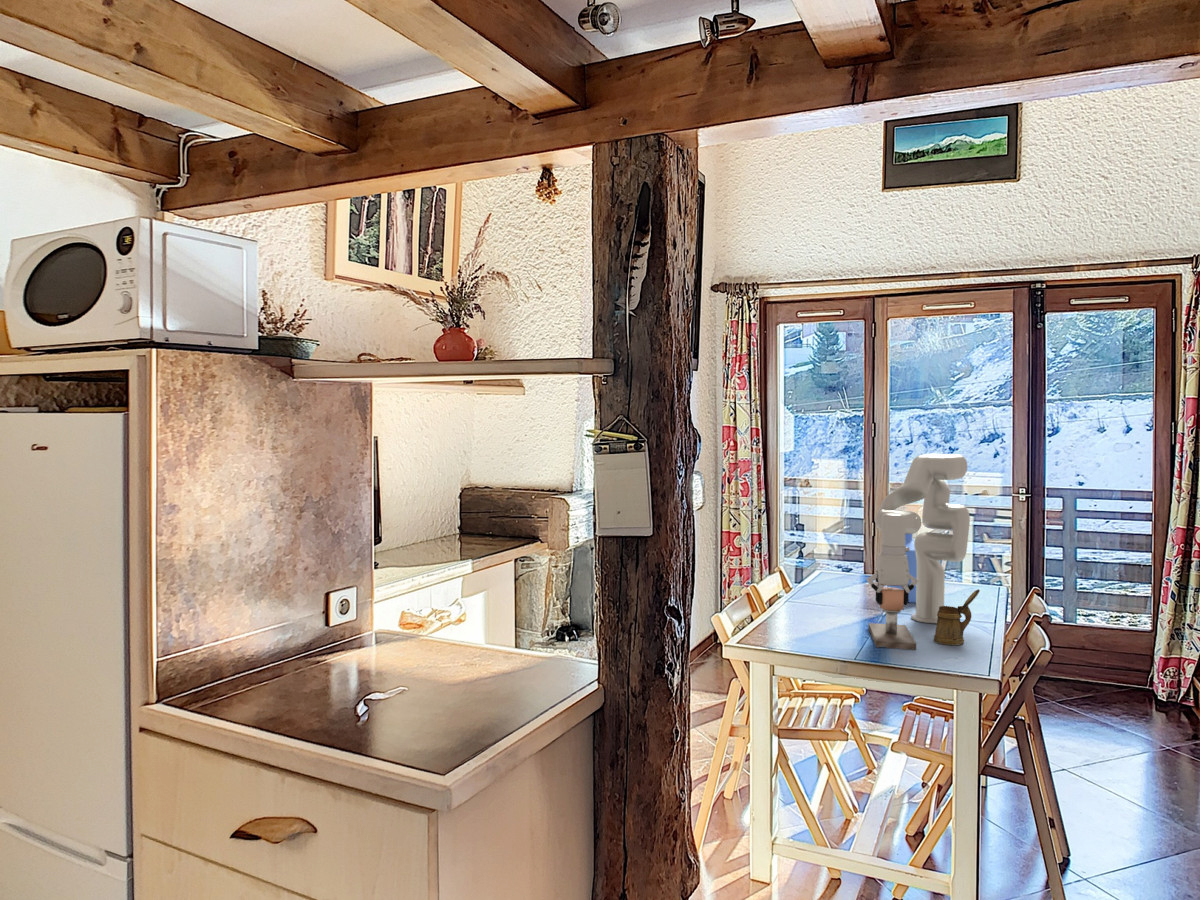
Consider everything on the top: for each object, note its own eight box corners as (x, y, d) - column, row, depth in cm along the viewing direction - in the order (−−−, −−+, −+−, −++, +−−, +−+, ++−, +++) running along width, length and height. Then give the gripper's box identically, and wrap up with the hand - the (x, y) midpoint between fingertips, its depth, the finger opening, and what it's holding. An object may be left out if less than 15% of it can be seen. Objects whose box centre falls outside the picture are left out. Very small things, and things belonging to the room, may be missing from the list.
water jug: (923, 595, 344) (924, 528, 343) (931, 604, 328) (932, 533, 327) (883, 594, 347) (884, 527, 346) (889, 602, 331) (891, 532, 330)
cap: (907, 610, 272) (907, 591, 272) (885, 610, 272) (885, 591, 272) (897, 605, 280) (898, 586, 279) (876, 605, 279) (876, 586, 279)
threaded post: (899, 631, 278) (899, 607, 278) (901, 635, 273) (901, 611, 272) (881, 630, 279) (881, 606, 279) (883, 634, 274) (883, 610, 274)
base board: (905, 630, 286) (905, 625, 286) (916, 649, 263) (916, 643, 263) (868, 628, 289) (868, 623, 289) (876, 647, 266) (876, 641, 266)
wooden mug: (979, 648, 265) (980, 591, 265) (933, 643, 270) (934, 588, 269) (977, 641, 273) (979, 586, 273) (933, 637, 278) (934, 583, 278)
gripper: (915, 549, 278) (914, 602, 279) (862, 548, 279) (862, 601, 280) (923, 552, 271) (922, 607, 272) (869, 552, 271) (868, 606, 272)
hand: (891, 603), depth 276 cm, fingers closed on cap, 7 cm apart
